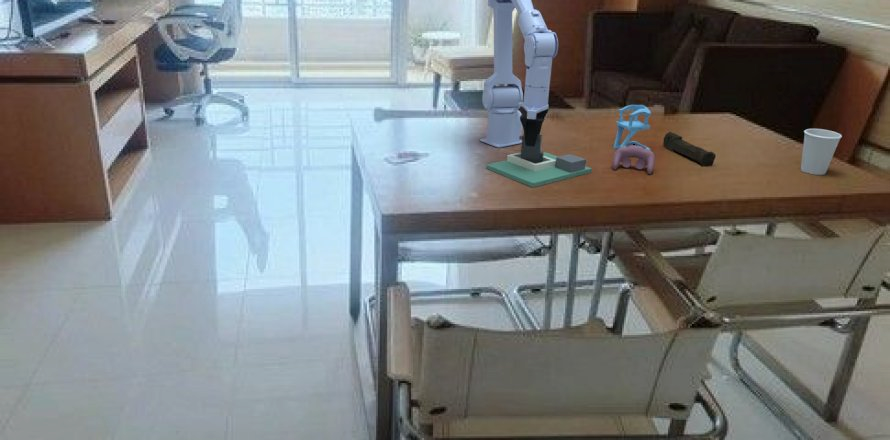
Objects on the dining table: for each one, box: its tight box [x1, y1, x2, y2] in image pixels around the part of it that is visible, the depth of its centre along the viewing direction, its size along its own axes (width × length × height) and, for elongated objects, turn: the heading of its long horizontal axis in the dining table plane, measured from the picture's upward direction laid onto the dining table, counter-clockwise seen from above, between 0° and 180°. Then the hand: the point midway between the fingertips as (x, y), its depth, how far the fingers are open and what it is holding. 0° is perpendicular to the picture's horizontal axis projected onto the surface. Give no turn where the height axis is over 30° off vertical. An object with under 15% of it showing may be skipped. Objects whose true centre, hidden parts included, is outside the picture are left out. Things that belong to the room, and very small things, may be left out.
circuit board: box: [485, 151, 593, 188], centre depth 161 cm, size 20×16×4 cm
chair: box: [613, 104, 652, 150], centre depth 180 cm, size 8×8×12 cm
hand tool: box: [662, 131, 716, 167], centre depth 177 cm, size 19×4×5 cm, turn 16°
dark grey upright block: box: [519, 133, 545, 164], centre depth 162 cm, size 3×6×7 cm, turn 76°
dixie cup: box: [800, 128, 843, 176], centre depth 167 cm, size 8×8×10 cm
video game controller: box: [612, 145, 655, 175], centre depth 164 cm, size 10×5×7 cm, turn 71°
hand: (532, 141), depth 161 cm, fingers open, 7 cm apart
